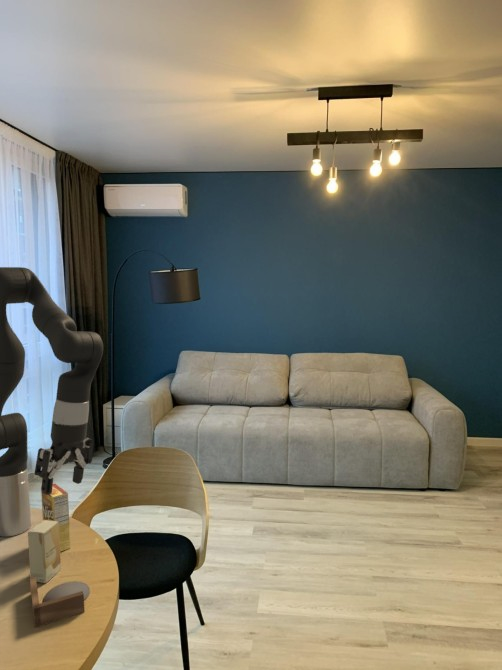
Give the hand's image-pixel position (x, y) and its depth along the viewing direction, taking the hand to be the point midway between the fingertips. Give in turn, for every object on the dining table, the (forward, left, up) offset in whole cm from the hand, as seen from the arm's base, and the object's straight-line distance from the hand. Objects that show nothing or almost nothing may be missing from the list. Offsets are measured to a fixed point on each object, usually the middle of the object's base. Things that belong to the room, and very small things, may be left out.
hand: (62, 487), depth 111 cm
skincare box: (-4, -6, -23) cm, 24 cm away
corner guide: (+7, -1, -23) cm, 24 cm away
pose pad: (+5, +1, -23) cm, 23 cm away
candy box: (-18, -6, -23) cm, 30 cm away
